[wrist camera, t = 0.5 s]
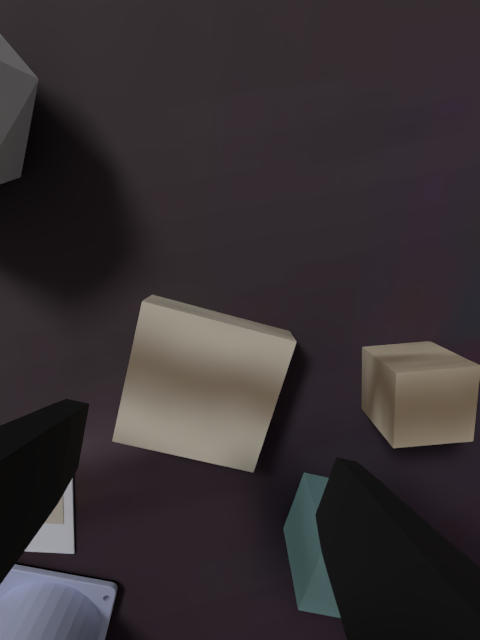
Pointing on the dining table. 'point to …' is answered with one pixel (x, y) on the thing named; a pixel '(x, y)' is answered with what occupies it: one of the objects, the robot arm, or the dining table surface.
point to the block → (419, 393)
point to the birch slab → (202, 383)
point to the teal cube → (308, 550)
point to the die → (14, 110)
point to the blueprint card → (57, 528)
